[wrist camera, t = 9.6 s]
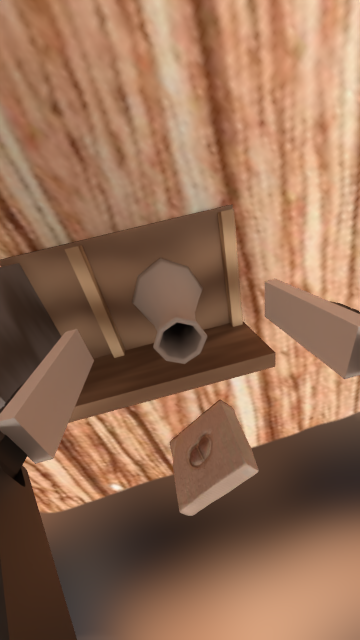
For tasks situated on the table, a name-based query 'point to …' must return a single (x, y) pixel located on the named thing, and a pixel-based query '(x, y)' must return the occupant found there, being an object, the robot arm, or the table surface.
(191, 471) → the fossil
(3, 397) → the brown open box
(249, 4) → the table surface
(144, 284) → the flask
